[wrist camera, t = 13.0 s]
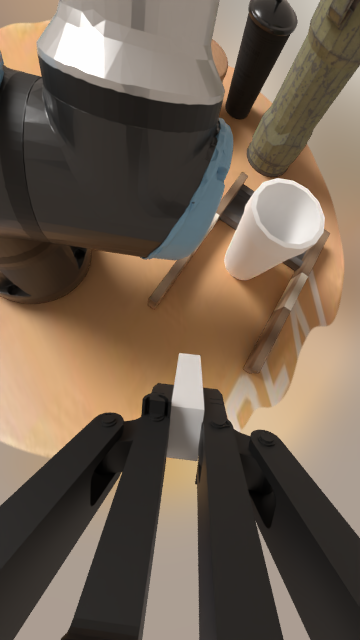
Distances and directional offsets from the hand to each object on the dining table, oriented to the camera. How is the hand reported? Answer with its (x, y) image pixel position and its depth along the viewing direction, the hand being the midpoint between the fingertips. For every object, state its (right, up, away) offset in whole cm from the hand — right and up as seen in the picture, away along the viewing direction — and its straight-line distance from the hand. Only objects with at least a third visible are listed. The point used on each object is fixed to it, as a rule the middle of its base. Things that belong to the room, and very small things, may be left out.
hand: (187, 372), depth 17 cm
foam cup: (+10, +13, +24) cm, 29 cm away
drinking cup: (+11, +46, +32) cm, 57 cm away
